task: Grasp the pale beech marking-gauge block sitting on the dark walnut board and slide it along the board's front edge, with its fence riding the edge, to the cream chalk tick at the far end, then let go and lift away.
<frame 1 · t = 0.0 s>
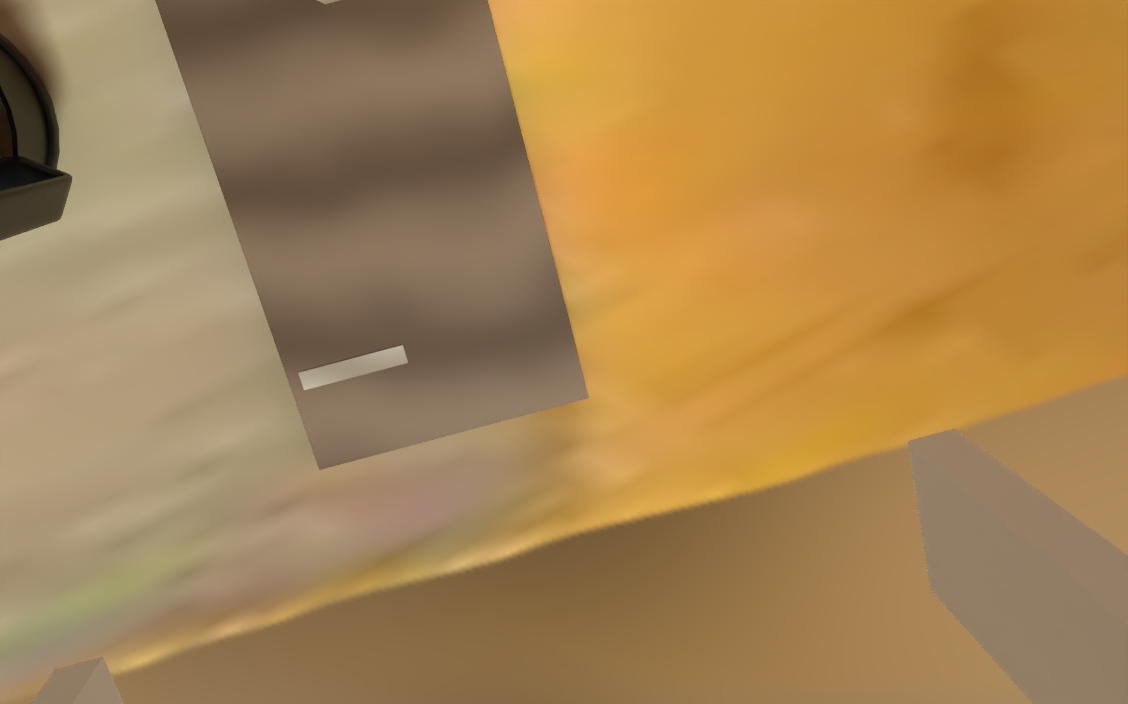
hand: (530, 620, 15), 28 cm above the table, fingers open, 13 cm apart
board: (376, 156, 40), on the table
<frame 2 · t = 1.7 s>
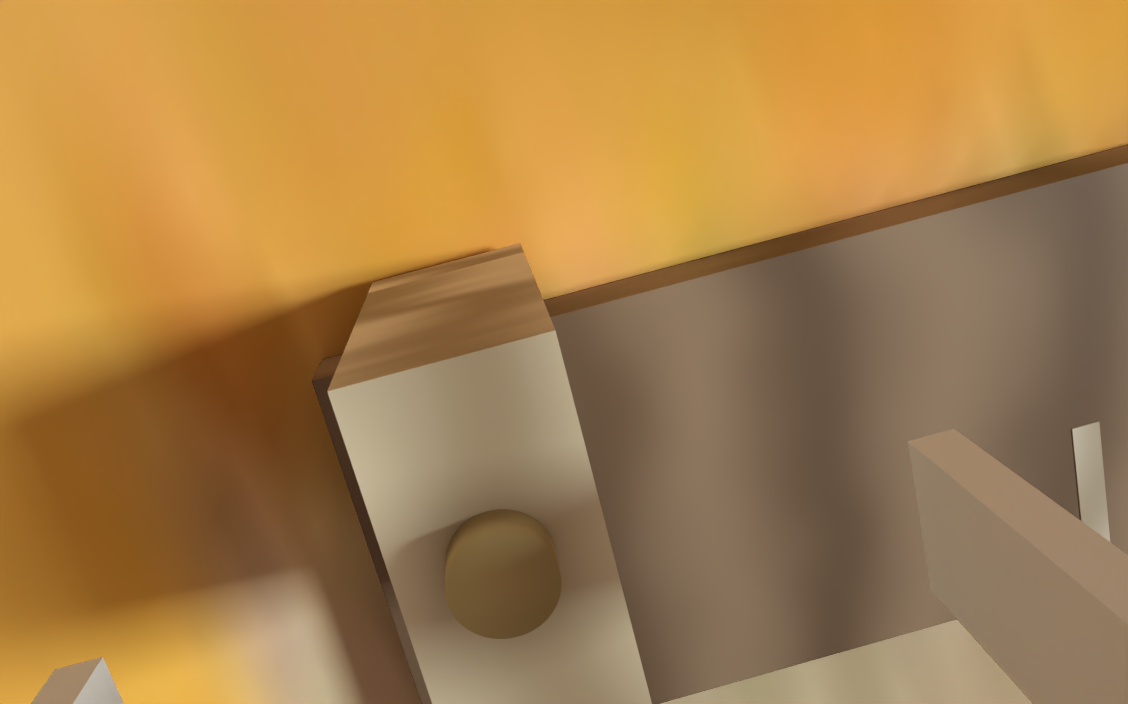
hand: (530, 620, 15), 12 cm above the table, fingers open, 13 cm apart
board: (782, 442, 29), on the table
gauge: (484, 391, 27), resting on board
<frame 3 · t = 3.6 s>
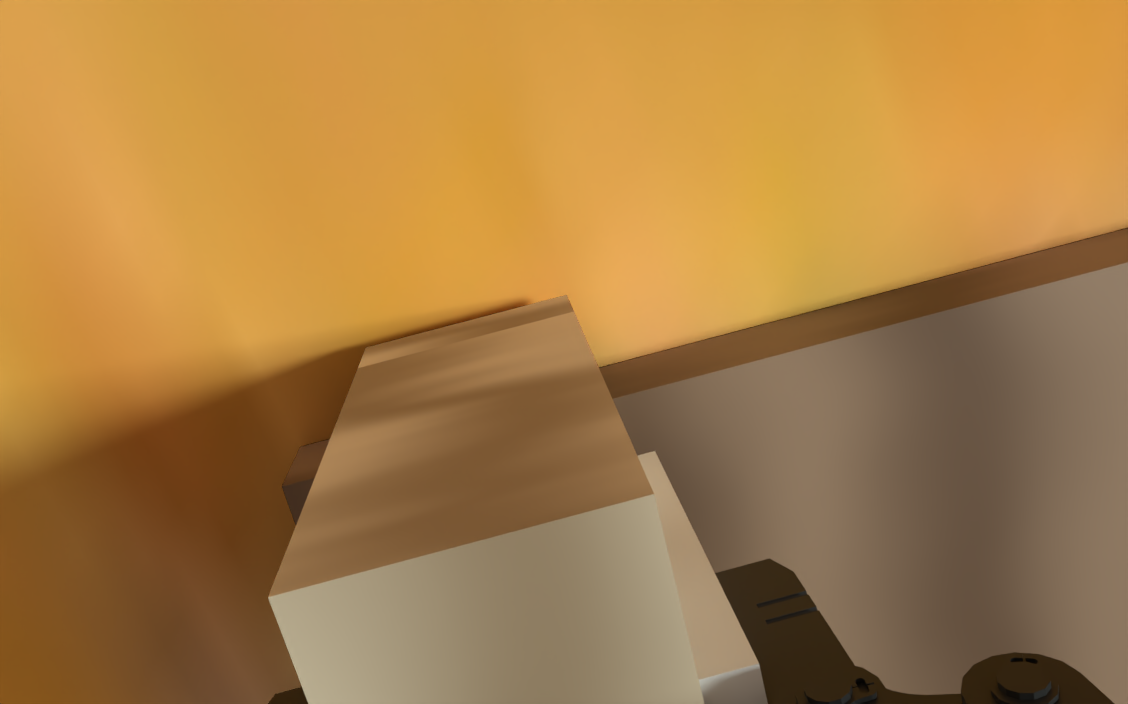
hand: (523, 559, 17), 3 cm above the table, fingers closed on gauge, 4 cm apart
board: (907, 550, 22), on the table
gauge: (516, 488, 20), resting on board, touching gripper
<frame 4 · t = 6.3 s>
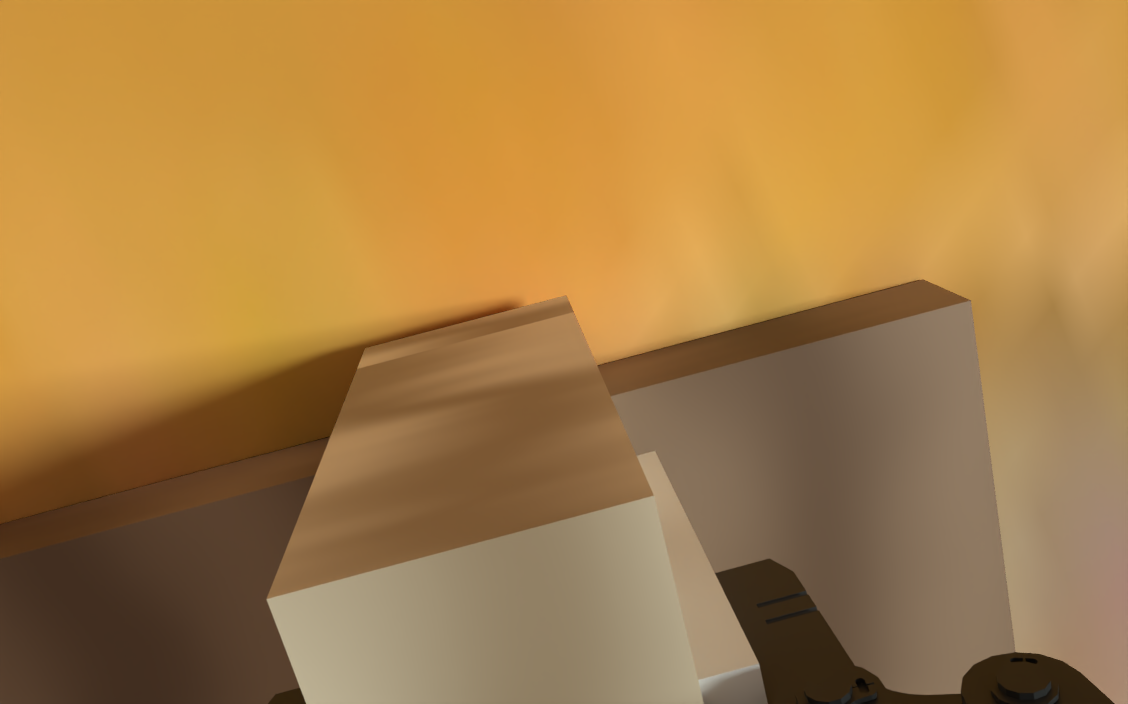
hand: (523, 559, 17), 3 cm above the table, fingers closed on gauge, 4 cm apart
board: (442, 672, 22), on the table
gauge: (515, 488, 20), resting on board, touching gripper
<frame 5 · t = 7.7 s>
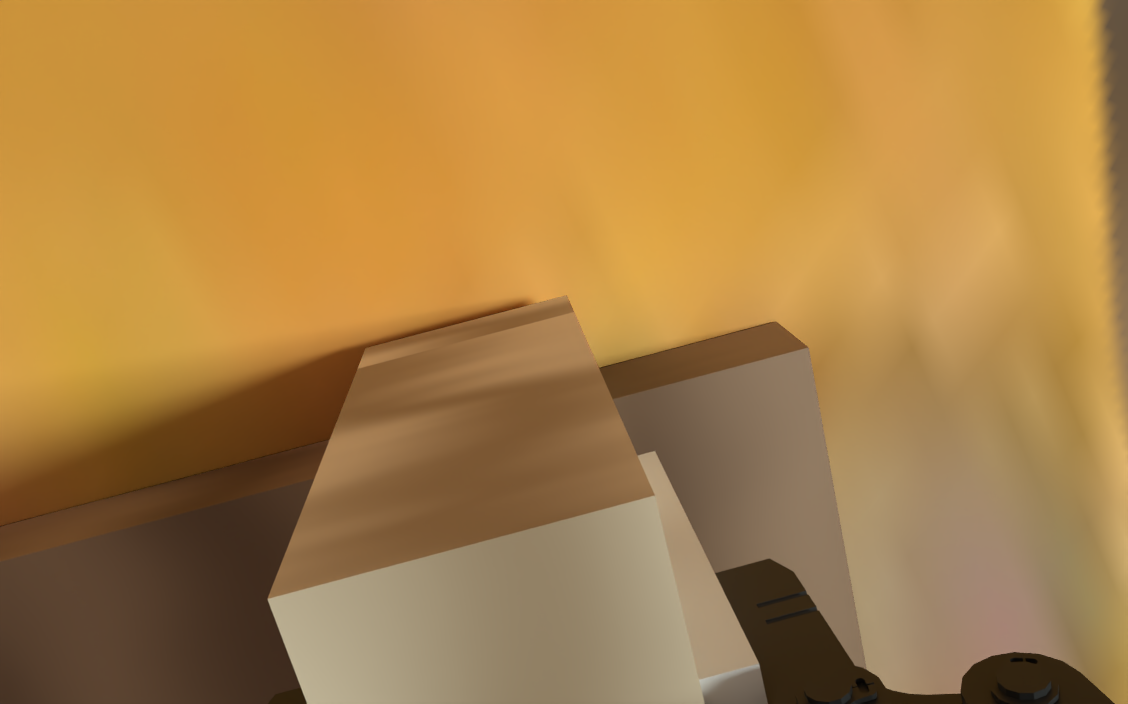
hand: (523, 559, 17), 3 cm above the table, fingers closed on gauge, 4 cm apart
gauge: (516, 488, 20), resting on board, touching gripper
when the fingers open (3 cm above the table, at t = 8.2 s): gauge stays where it is, resting on board.
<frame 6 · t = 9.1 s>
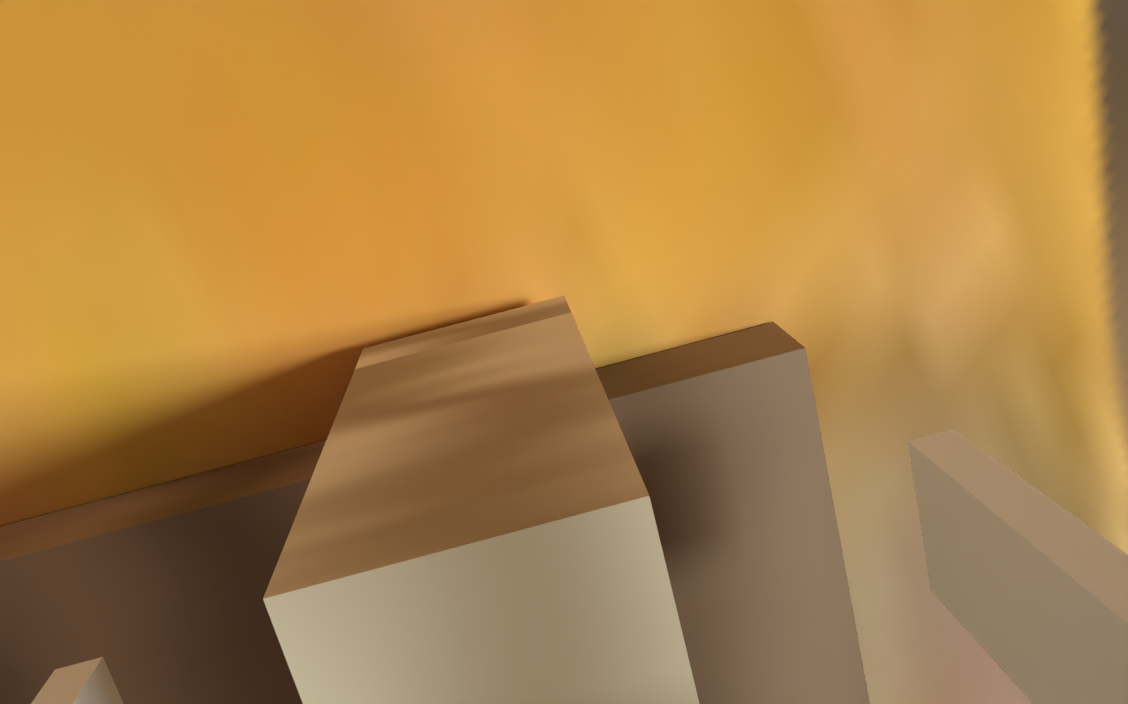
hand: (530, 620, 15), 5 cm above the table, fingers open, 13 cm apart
gauge: (513, 488, 20), resting on board
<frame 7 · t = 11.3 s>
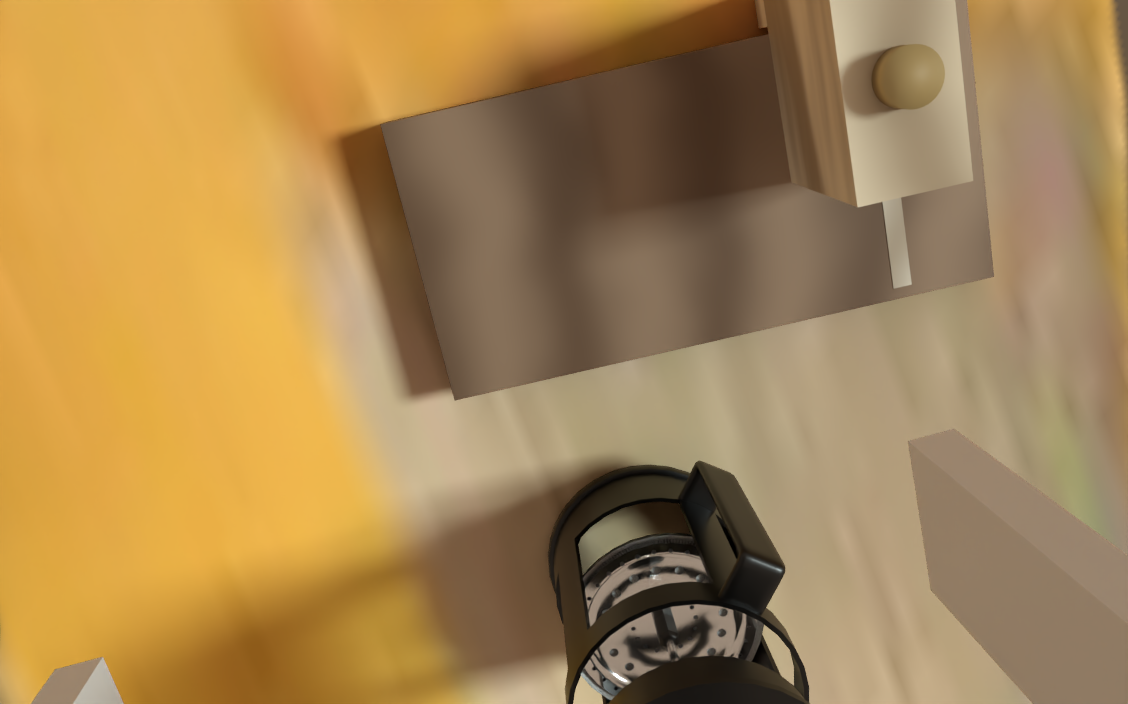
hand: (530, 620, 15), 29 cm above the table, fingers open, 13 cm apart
french press: (648, 543, 47), on the table
board: (690, 197, 42), on the table
gauge: (810, 76, 41), resting on board
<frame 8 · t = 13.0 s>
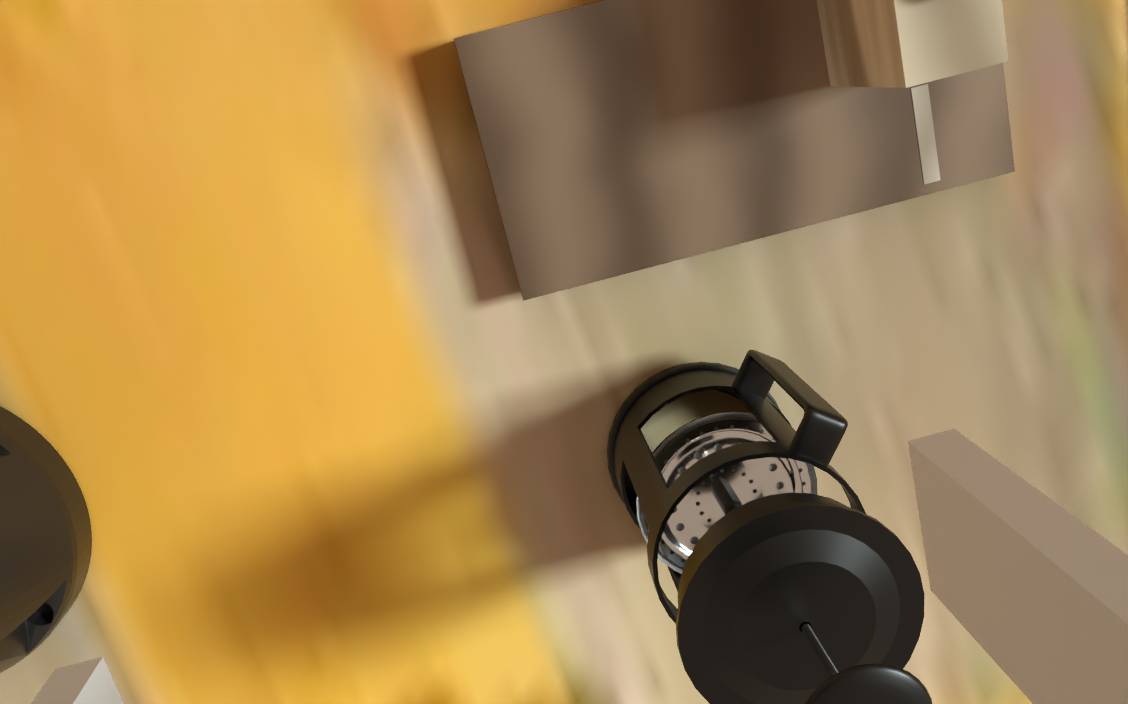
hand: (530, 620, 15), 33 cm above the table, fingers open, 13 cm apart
french press: (699, 438, 51), on the table
board: (735, 106, 46), on the table
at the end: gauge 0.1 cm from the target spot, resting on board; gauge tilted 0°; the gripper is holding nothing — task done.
